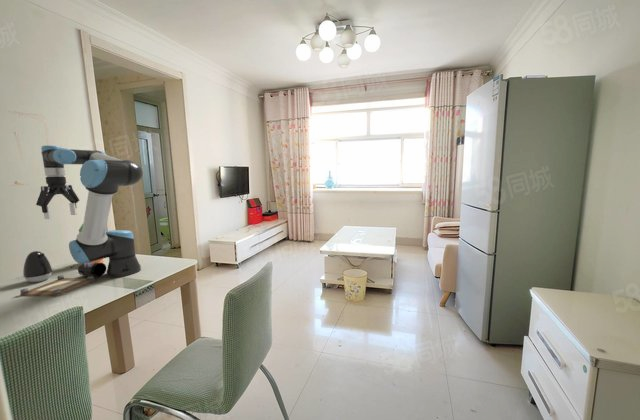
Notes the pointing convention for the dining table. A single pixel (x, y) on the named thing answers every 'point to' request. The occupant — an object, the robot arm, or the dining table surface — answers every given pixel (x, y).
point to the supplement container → (92, 269)
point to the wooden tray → (57, 286)
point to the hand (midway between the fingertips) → (61, 216)
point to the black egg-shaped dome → (36, 267)
